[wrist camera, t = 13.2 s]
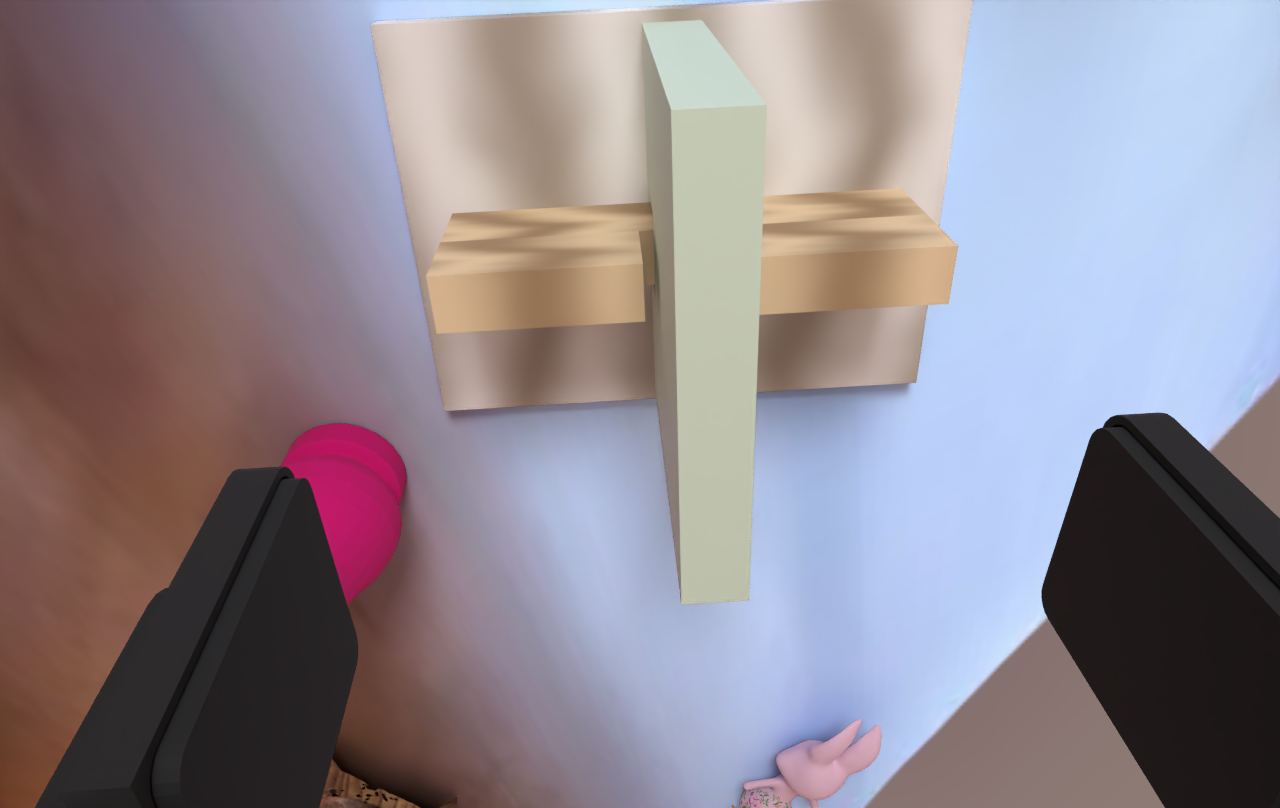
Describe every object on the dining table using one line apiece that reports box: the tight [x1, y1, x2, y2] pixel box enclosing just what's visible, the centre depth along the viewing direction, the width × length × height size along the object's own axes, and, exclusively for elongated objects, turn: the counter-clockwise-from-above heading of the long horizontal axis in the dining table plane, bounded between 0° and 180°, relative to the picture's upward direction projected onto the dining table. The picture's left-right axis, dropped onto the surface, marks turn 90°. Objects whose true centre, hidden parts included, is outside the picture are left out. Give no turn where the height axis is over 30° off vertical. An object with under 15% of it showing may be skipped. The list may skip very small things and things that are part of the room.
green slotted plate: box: [642, 20, 767, 605], centre depth 32 cm, size 17×2×15 cm, turn 2°
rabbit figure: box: [732, 719, 881, 808], centre depth 58 cm, size 6×6×15 cm
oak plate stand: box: [370, 0, 973, 411], centre depth 36 cm, size 24×18×8 cm
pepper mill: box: [280, 424, 406, 605], centre depth 37 cm, size 7×7×20 cm
